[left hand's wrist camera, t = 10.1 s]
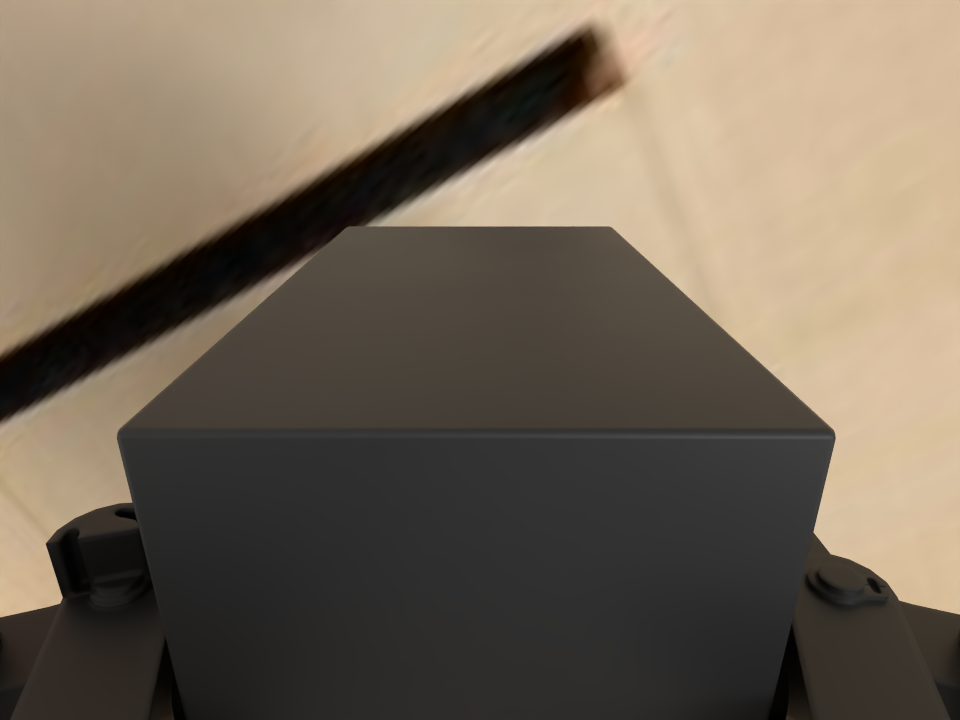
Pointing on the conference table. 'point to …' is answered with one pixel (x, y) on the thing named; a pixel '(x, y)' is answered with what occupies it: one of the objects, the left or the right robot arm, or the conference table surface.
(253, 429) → the box
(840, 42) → the conference table surface
